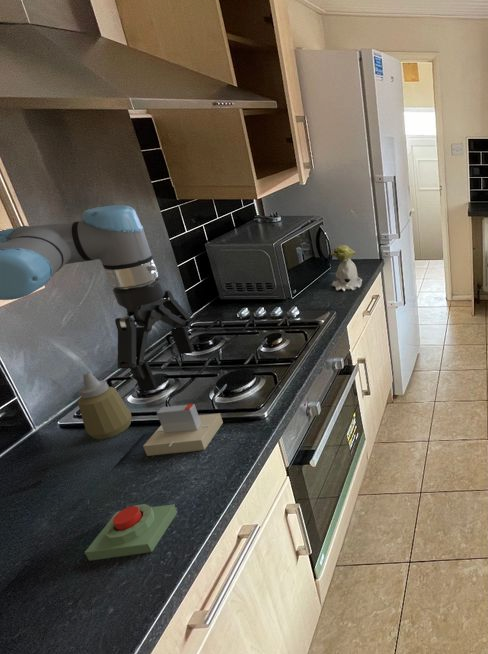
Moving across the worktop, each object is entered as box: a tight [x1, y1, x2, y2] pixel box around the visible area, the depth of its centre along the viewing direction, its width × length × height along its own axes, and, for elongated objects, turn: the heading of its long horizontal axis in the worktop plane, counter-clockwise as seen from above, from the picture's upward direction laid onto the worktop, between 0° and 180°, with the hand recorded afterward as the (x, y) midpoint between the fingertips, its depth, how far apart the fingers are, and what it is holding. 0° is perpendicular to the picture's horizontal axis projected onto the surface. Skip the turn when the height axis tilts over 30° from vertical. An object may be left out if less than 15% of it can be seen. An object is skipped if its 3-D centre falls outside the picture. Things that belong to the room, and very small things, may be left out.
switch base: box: [143, 412, 224, 457], centre depth 99 cm, size 12×11×3 cm
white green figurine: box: [330, 244, 363, 292], centre depth 180 cm, size 12×13×18 cm
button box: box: [84, 503, 178, 562], centre depth 77 cm, size 10×8×4 cm
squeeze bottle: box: [77, 371, 132, 440], centre depth 97 cm, size 8×8×18 cm
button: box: [113, 505, 142, 531], centre depth 76 cm, size 4×4×2 cm
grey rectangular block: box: [156, 403, 201, 433], centre depth 97 cm, size 7×2×6 cm, turn 99°
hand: (169, 369), depth 92 cm, fingers open, 13 cm apart
